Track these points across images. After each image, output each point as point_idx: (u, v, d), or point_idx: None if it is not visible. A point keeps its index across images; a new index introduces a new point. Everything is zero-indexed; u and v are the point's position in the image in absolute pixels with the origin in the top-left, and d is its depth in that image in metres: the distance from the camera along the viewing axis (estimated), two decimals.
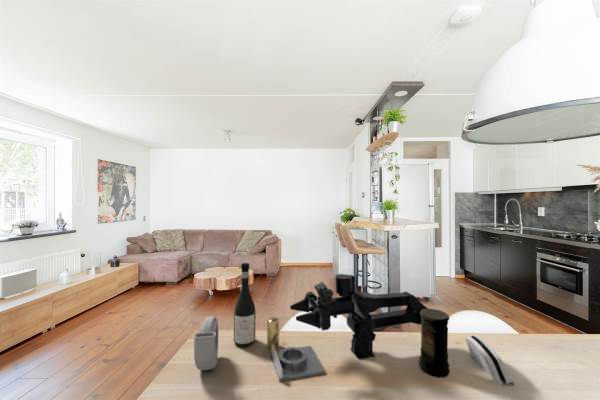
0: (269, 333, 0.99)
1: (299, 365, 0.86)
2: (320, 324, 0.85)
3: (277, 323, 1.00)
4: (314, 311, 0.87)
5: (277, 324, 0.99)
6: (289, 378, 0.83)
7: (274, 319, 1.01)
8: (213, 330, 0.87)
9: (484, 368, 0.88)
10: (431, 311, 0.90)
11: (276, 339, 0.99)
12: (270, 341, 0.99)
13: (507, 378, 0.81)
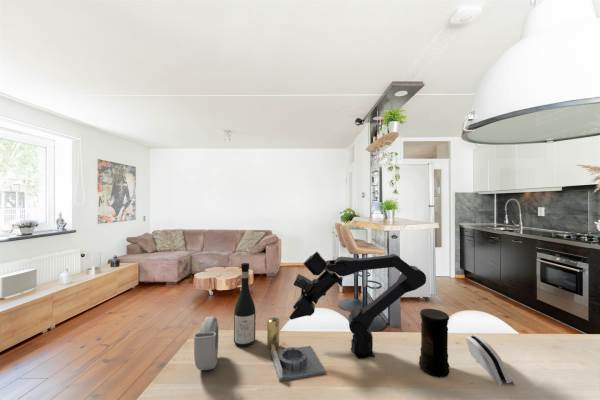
0: (269, 333, 0.99)
1: (299, 365, 0.86)
2: None
3: (277, 323, 1.00)
4: (297, 304, 0.94)
5: (277, 324, 0.99)
6: (289, 378, 0.83)
7: (274, 319, 1.01)
8: (213, 330, 0.87)
9: (484, 368, 0.88)
10: (431, 311, 0.90)
11: (276, 339, 0.99)
12: (270, 341, 0.99)
13: (507, 378, 0.81)
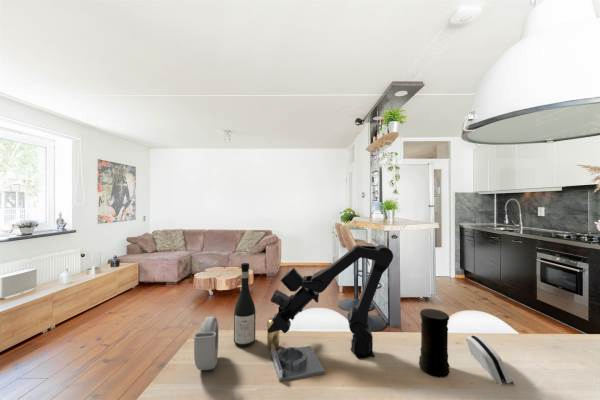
0: (269, 333, 0.99)
1: (299, 365, 0.86)
2: None
3: None
4: None
5: None
6: (289, 378, 0.83)
7: None
8: (213, 330, 0.87)
9: (484, 368, 0.88)
10: (431, 311, 0.90)
11: (276, 339, 0.99)
12: (270, 340, 0.99)
13: (507, 378, 0.81)
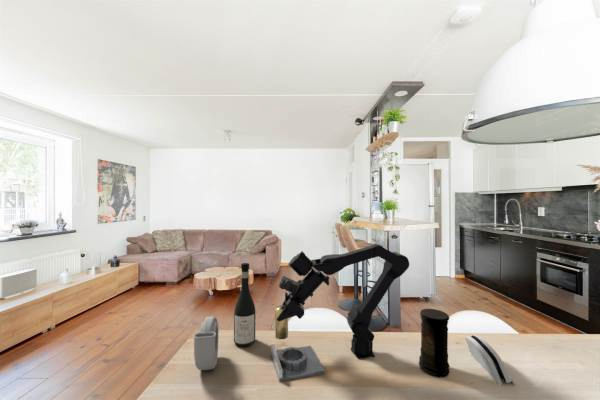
0: (278, 322, 0.93)
1: (299, 365, 0.86)
2: None
3: None
4: (285, 305, 0.92)
5: None
6: (289, 378, 0.83)
7: (282, 307, 0.95)
8: (213, 330, 0.87)
9: (484, 368, 0.88)
10: (431, 311, 0.90)
11: (286, 328, 0.94)
12: (280, 329, 0.93)
13: (507, 377, 0.81)
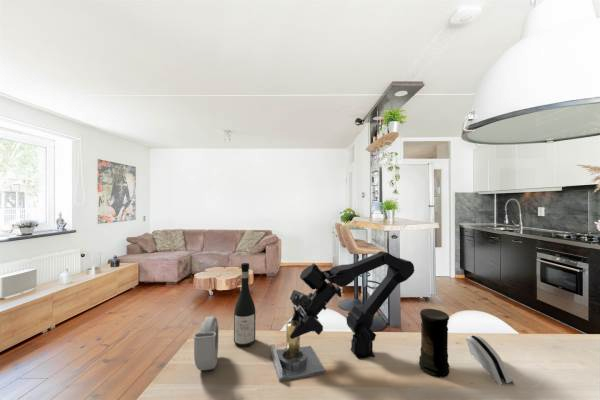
0: (291, 339, 0.88)
1: (299, 365, 0.86)
2: None
3: None
4: (299, 321, 0.87)
5: None
6: (289, 378, 0.83)
7: (294, 322, 0.91)
8: (213, 330, 0.87)
9: (484, 368, 0.88)
10: (431, 311, 0.90)
11: (299, 344, 0.90)
12: (293, 347, 0.88)
13: (507, 377, 0.81)
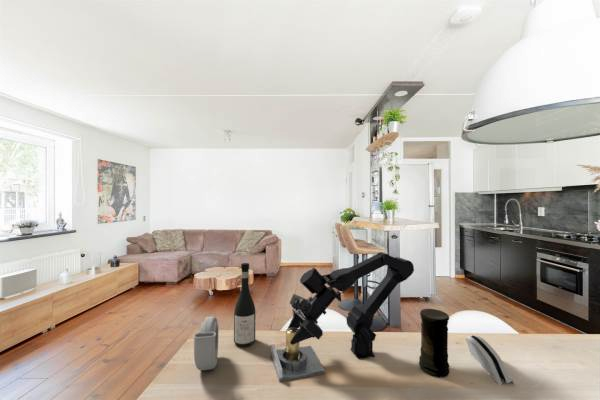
0: (291, 346, 0.88)
1: (299, 365, 0.86)
2: (312, 334, 0.85)
3: None
4: (300, 327, 0.86)
5: None
6: (289, 378, 0.83)
7: (293, 329, 0.91)
8: (213, 330, 0.87)
9: (484, 367, 0.88)
10: (431, 311, 0.90)
11: (298, 351, 0.90)
12: (292, 354, 0.88)
13: (507, 377, 0.81)
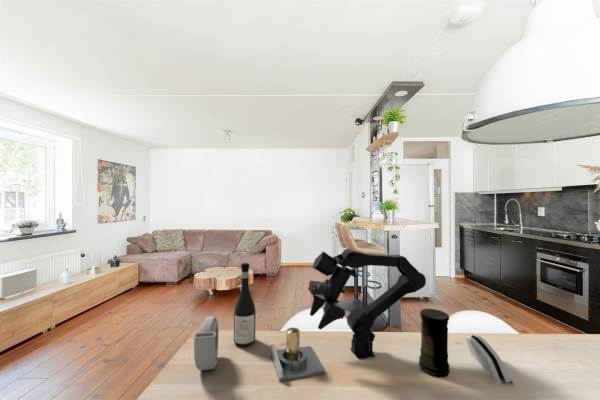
0: (291, 346, 0.88)
1: (299, 365, 0.86)
2: None
3: (299, 333, 0.90)
4: (324, 312, 0.89)
5: (299, 334, 0.90)
6: (289, 378, 0.83)
7: (294, 330, 0.91)
8: (213, 330, 0.87)
9: (484, 367, 0.88)
10: (431, 311, 0.90)
11: (298, 352, 0.90)
12: (292, 354, 0.88)
13: (506, 377, 0.81)
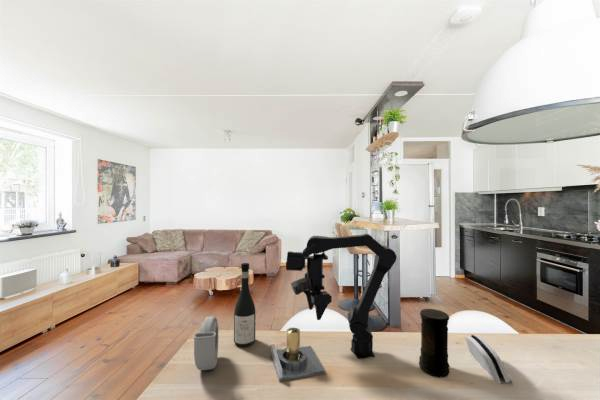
0: (291, 346, 0.88)
1: (299, 365, 0.86)
2: None
3: (299, 333, 0.90)
4: None
5: (299, 334, 0.90)
6: (289, 378, 0.83)
7: (294, 330, 0.91)
8: (213, 330, 0.87)
9: (483, 367, 0.88)
10: (431, 311, 0.90)
11: (299, 352, 0.90)
12: (293, 354, 0.88)
13: (506, 377, 0.81)
